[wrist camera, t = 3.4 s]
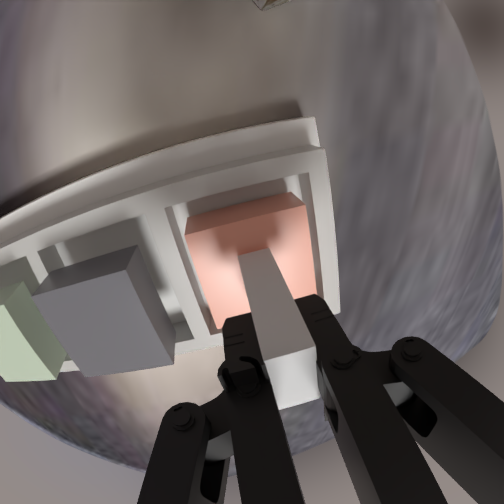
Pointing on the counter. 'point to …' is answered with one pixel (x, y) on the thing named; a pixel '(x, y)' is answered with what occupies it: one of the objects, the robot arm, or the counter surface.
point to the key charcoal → (108, 314)
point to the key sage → (26, 339)
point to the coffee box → (269, 3)
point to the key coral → (250, 249)
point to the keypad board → (175, 216)
